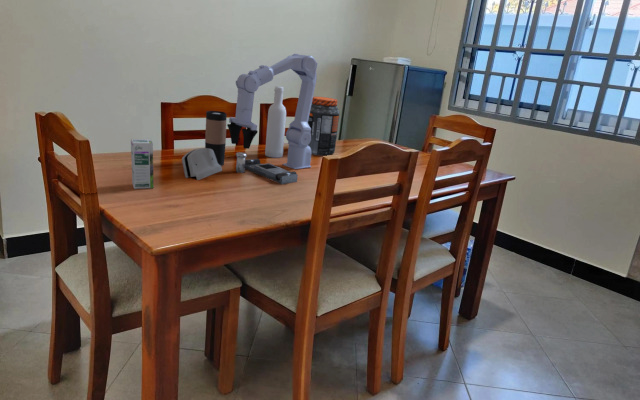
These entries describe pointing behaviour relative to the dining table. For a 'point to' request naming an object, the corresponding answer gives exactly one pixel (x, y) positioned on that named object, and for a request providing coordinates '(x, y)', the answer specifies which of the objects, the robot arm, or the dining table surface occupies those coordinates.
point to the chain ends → (271, 171)
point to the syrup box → (142, 163)
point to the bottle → (276, 126)
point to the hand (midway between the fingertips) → (240, 146)
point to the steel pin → (240, 162)
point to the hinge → (200, 163)
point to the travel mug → (216, 134)
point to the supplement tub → (323, 125)
